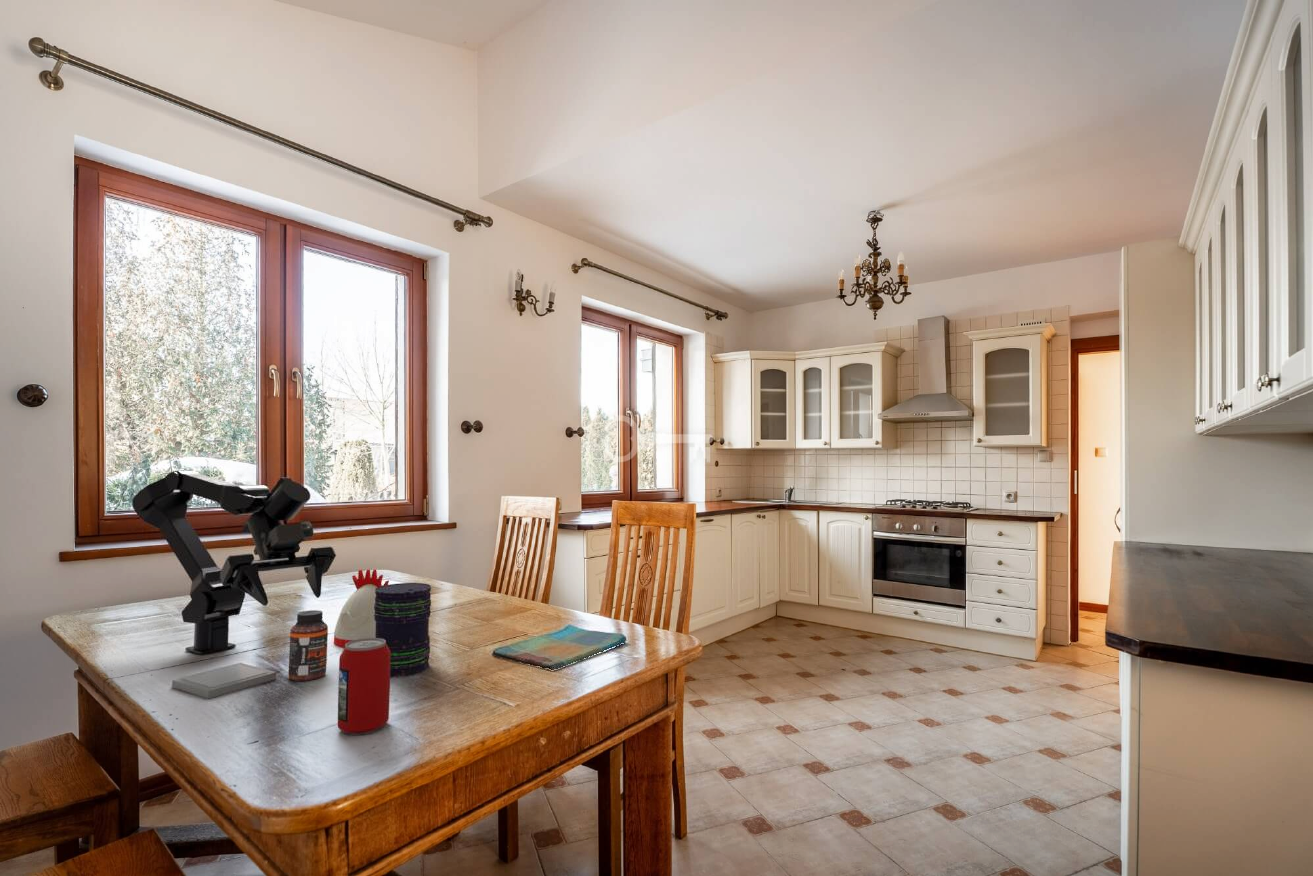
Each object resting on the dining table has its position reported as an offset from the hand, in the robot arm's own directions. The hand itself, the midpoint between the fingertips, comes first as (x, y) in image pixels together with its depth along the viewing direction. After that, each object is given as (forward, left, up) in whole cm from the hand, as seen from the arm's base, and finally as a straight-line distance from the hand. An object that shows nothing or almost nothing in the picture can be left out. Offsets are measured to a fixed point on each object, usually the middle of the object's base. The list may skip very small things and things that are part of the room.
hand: (293, 600), depth 119 cm
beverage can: (+35, -11, -13) cm, 39 cm away
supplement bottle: (+7, -1, -13) cm, 15 cm away
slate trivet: (-2, -10, -12) cm, 16 cm away
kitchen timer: (-5, +21, -13) cm, 25 cm away
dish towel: (+36, +35, -13) cm, 52 cm away
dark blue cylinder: (+18, +10, -13) cm, 24 cm away
